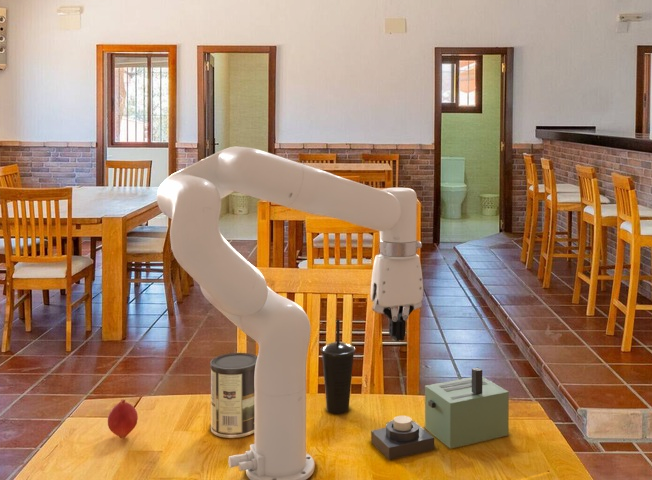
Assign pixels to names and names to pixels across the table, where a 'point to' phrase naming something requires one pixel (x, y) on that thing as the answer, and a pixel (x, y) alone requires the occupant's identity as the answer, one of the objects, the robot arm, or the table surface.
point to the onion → (122, 419)
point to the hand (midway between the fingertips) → (397, 338)
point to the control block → (402, 441)
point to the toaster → (466, 412)
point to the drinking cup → (337, 373)
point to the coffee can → (233, 395)
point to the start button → (402, 423)
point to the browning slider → (476, 380)
